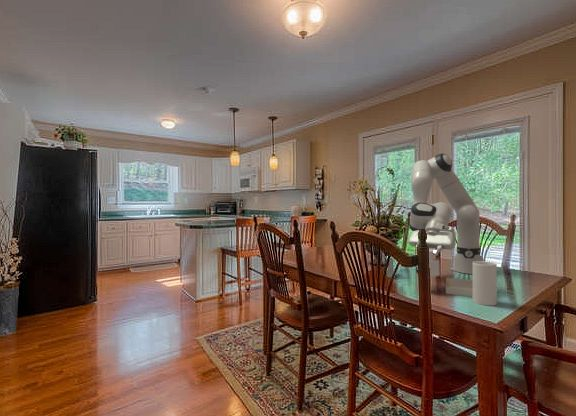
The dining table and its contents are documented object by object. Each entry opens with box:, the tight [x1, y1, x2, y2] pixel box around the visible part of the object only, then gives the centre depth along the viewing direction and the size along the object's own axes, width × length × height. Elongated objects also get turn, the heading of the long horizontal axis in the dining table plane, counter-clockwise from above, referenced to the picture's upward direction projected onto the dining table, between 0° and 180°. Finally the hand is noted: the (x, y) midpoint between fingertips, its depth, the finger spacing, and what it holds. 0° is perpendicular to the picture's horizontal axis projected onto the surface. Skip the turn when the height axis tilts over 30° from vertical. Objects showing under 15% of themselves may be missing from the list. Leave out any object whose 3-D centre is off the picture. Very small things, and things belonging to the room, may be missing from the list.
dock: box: [445, 276, 473, 298], centre depth 140 cm, size 18×12×3 cm, turn 152°
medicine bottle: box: [415, 248, 440, 278], centre depth 139 cm, size 7×7×12 cm
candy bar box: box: [381, 252, 394, 277], centre depth 168 cm, size 11×5×16 cm, turn 168°
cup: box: [472, 260, 498, 307], centre depth 123 cm, size 8×8×16 cm
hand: (426, 253), depth 138 cm, fingers closed on medicine bottle, 6 cm apart
